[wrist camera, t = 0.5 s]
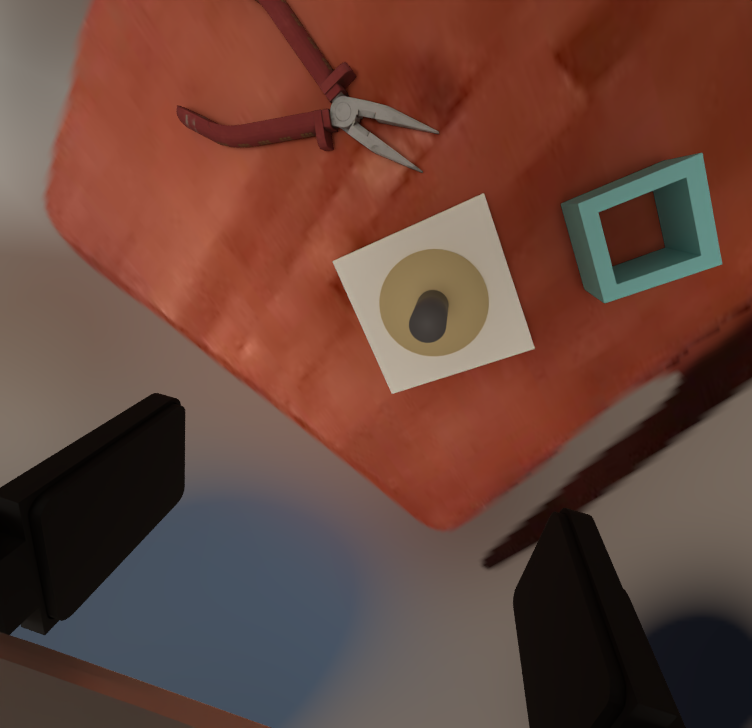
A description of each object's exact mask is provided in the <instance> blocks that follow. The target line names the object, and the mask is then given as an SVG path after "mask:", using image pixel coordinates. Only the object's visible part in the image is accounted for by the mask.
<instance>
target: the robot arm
mask: <svg viewBox="0 0 752 728" xmlns="http://www.w3.org/2000/svg"><path fill="white" fill-rule="evenodd" d="M184 483H185V409H184V407H183V406H181V404H180V401H179V400H178V399H177V398H173V397H169V396H166V395H162V394H159V393H154V394H151V395H150V396H148V397H146V398H145V399H143V400H141V401H140V402H138V403H137V404H135V405H133V406H132V407H130V408H129V409H127V410H125V411H124V412H122V413H120V414H119V415H117V416H116V417H114V418H112V419H111V420H109V421H107V422H106V423H104V424H103V425H101V426H99V427H98V428H96V429H95V430H93V431H92V432H90V433H88V434H86V435H85V436H83V437H82V438H80V439H78V440H77V441H75V442H73V443H72V444H70V445H69V446H67V447H65V448H64V449H62V450H60V451H59V452H58V453H56V454H54V455H52V456H51V457H49V458H47V459H46V460H44V461H43V462H41V463H39V464H38V465H36V466H34V467H33V468H31V469H30V470H28V471H26V472H25V473H23V474H22V475H20V476H18V477H17V478H15V479H14V480H12V481H10V482H9V483H7V484H5V485H4V486H2V487H1V488H0V728H271V727H268V726H265V725H262V724H259V723H257V722H254V721H251V720H248V719H246V718H243V717H240V716H237V715H234V714H231V713H229V712H226V711H223V710H220V709H218V708H215V707H212V706H209V705H207V704H204V703H201V702H198V701H196V700H193V699H190V698H187V697H184V696H182V695H179V694H176V693H173V692H170V691H167V690H165V689H162V688H159V687H157V686H154V685H151V684H148V683H145V682H142V681H140V680H137V679H134V678H131V677H128V676H125V675H123V674H120V673H117V672H114V671H111V670H108V669H106V668H103V667H100V666H97V665H94V664H92V663H89V662H86V661H83V660H80V659H77V658H75V657H72V656H69V655H66V654H63V653H60V652H57V651H55V650H52V649H49V648H46V647H44V646H40V645H38V644H35V643H32V642H28V641H25V640H22V639H19V638H16V637H13V636H10V634H11V633H12V632H13V631H14V630H15V629H16V628H17V627H18V626H19V625H20V624H21V627H23V628H26V629H29V630H31V631H34V632H37V633H40V634H43V635H46V634H47V633H48V631H49V630H50V629H51V628H52V627H53V626H54V625H55V624H56V623H57V622H58V621H59V620H61V621H62V620H66V619H67V618H69V617H70V616H71V615H72V614H73V613H74V612H75V611H76V610H77V609H78V608H79V607H80V606H81V605H82V604H83V603H84V602H85V601H86V600H87V599H88V597H89V596H90V595H91V594H92V593H93V592H94V591H95V590H96V589H97V588H98V587H99V586H100V585H101V584H102V583H103V582H104V580H105V579H106V578H107V577H108V576H109V575H110V574H111V573H112V572H113V571H114V570H115V569H116V568H117V567H118V566H119V565H120V563H121V562H122V561H123V560H124V559H125V558H126V557H127V556H128V555H129V554H130V553H131V552H132V551H133V550H134V549H135V548H136V547H137V545H138V544H139V543H140V542H141V541H142V540H143V539H144V538H145V537H146V536H147V535H148V534H149V532H151V531H152V529H154V527H155V526H156V525H157V524H158V523H159V522H160V521H161V520H162V519H163V518H164V517H165V516H166V515H167V514H168V513H169V511H170V510H171V509H172V508H173V507H174V506H175V505H176V504H177V503H178V502H179V500H180V499H181V497H182V495H183V492H184V487H185V484H184ZM513 608H514V616H515V623H516V630H517V638H518V645H519V653H520V660H521V667H522V675H523V682H524V690H525V697H526V704H527V712H528V719H529V726H530V728H686V727H685V725H684V723H683V721H682V718H681V716H680V713H679V711H678V709H677V707H676V704H675V702H674V700H673V698H672V695H671V693H670V690H669V688H668V686H667V683H666V681H665V679H664V677H663V674H662V672H661V670H660V667H659V665H658V663H657V660H656V658H655V656H654V653H653V651H652V649H651V646H650V644H649V642H648V640H647V637H646V635H645V633H644V630H643V628H642V626H641V623H640V621H639V619H638V617H637V614H636V612H635V610H634V607H633V605H632V603H631V600H630V598H629V596H628V594H627V593H626V591H625V590H624V589H623V588H622V585H621V583H620V581H619V578H618V576H617V573H616V571H615V569H614V566H613V564H612V562H611V559H610V557H609V555H608V552H607V550H606V548H605V545H604V543H603V541H602V538H601V536H600V534H599V531H598V529H597V527H596V524H595V522H594V520H593V518H592V516H590V515H588V514H585V513H581V512H578V511H574V510H571V509H567V508H563V509H562V510H561V511H560V512H559V513H558V512H553V513H552V514H551V516H550V518H549V520H548V522H547V524H546V526H545V528H544V530H543V533H542V535H541V537H540V539H539V541H538V543H537V545H536V547H535V549H534V551H533V553H532V555H531V558H530V560H529V562H528V564H527V566H526V568H525V570H524V572H523V574H522V576H521V578H520V580H519V583H518V585H517V587H516V589H515V592H514V597H513Z"/></svg>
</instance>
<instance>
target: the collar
mask: <svg viewBox="0 0 752 728" xmlns="http://www.w3.org/2000/svg"><path fill="white" fill-rule="evenodd" d="M651 191H653V193H654V198H655V202H656V207H657V212H658V216H659V221H660V225H661V230H662V235H663V239H664V244H665V248H663V249H660V250H657V251H654V252H652V253H649V254H646V255H643V256H640V257H638V258H635V259H632V260H629V261H626V262H624V263H621V264H618V265H615V266H612V264H611V260H610V256H609V252H608V249H607V245H606V241H605V237H604V233H603V229H602V225H601V221H600V217H599V213H598V212H601V211H603V210H606V209H608V208H611V207H613V206H616V205H618V204H621V203H623V202H626V201H628V200H631V199H633V198H636V197H638V196H641V195H643V194H646V193H648V192H651ZM561 208H562V211H563V215H564V218H565V222H566V226H567V229H568V233H569V236H570V240H571V243H572V247H573V251H574V254H575V258H576V261H577V265H578V269H579V272H580V276H581V279H582V283H583V286H584V289H585V290H586V291H587V292H589V293H590V294H592V295H593V296H595V297H596V298H597V299H599V300H600V301H602V302H603V303H607V302H610V301H613V300H616V299H619V298H622V297H625V296H628V295H631V294H634V293H637V292H640V291H643V290H646V289H649V288H652V287H655V286H658V285H661V284H664V283H667V282H670V281H673V280H676V279H679V278H682V277H685V276H688V275H691V274H694V273H697V272H700V271H703V270H706V269H709V268H712V267H715V266H718V265H721V264H722V260H721V255H720V249H719V244H718V238H717V232H716V227H715V221H714V216H713V210H712V204H711V199H710V193H709V187H708V182H707V176H706V171H705V165H704V159H703V154H702V153H698V154H693V155H689V156H684V157H679V158H674V159H669V160H664V161H662V162H659V163H657V164H654V165H652V166H650V167H647V168H645V169H642V170H640V171H638V172H635V173H633V174H630V175H628V176H626V177H623V178H621V179H618V180H616V181H614V182H611V183H609V184H606V185H604V186H602V187H599V188H597V189H594V190H592V191H590V192H587V193H585V194H582V195H580V196H578V197H575V198H573V199H570V200H568V201H566V202H563V203H561Z"/></svg>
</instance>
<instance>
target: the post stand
mask: <svg viewBox="0 0 752 728" xmlns="http://www.w3.org/2000/svg"><path fill="white" fill-rule="evenodd" d="M332 262H333V264H334V266H335V268H336V270H337V273H338V275H339V277H340V279H341V282H342V284H343V286H344V288H345V290H346V293H347V295H348V297H349V299H350V302H351V304H352V306H353V308H354V310H355V313H356V315H357V317H358V319H359V322H360V324H361V326H362V328H363V330H364V333H365V335H366V337H367V339H368V342H369V344H370V346H371V348H372V351H373V353H374V355H375V357H376V359H377V362H378V364H379V366H380V368H381V371H382V373H383V375H384V377H385V379H386V382H387V384H388V386H389V388H390V391H391V393H392V394H393V393H397V392H400V391H403V390H406V389H409V388H412V387H416V386H419V385H422V384H425V383H428V382H431V381H434V380H438V379H441V378H444V377H447V376H450V375H453V374H457V373H460V372H463V371H466V370H469V369H472V368H476V367H479V366H482V365H485V364H488V363H491V362H494V361H498V360H501V359H504V358H507V357H510V356H513V355H517V354H520V353H523V352H526V351H529V350H532V349H535V347H534V344H533V341H532V338H531V335H530V332H529V329H528V326H527V323H526V320H525V317H524V314H523V311H522V308H521V305H520V302H519V299H518V296H517V293H516V289H515V286H514V283H513V280H512V277H511V274H510V271H509V268H508V265H507V262H506V259H505V256H504V253H503V250H502V247H501V244H500V241H499V238H498V235H497V232H496V229H495V225H494V222H493V219H492V216H491V213H490V210H489V207H488V204H487V201H486V198H485V195H484V193H483V194H481V195H479V196H476V197H474V198H472V199H470V200H468V201H465V202H463V203H461V204H459V205H456V206H454V207H452V208H450V209H448V210H445V211H443V212H441V213H439V214H436V215H434V216H432V217H430V218H428V219H425V220H423V221H421V222H419V223H416V224H414V225H412V226H410V227H408V228H405V229H403V230H401V231H399V232H396V233H394V234H392V235H390V236H388V237H385V238H383V239H381V240H379V241H376V242H374V243H372V244H370V245H368V246H365V247H363V248H361V249H359V250H356V251H354V252H352V253H350V254H348V255H345V256H343V257H341V258H339V259H336V260H334V261H332Z"/></svg>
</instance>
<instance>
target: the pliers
mask: <svg viewBox="0 0 752 728" xmlns="http://www.w3.org/2000/svg"><path fill="white" fill-rule="evenodd" d="M256 1H257V2H258V3H260V4H261V5H262V6H263V7H264V9H265V10H266V11H267V13H268V14H269V15H270V17H271V18H272V20H273V21H274V23H275V24H276V25H277V27H278V28H279V30H280V31H281V33H282V34H283V35H284V37H285V38H286V40H287V41H288V43H289V44H290V45H291V47H292V48H293V50H294V51H295V53H296V54H297V55H298V57H299V58H300V60H301V61H302V63H303V64H304V65H305V67H306V68H307V70H308V71H309V73H310V74H311V75H312V77H313V78H314V80H315V81H316V83H317V84H318V85H319V87H320V89H321V90H322V91H323V93H324V94H325V95H326V97H327V98H328V100H329V101H330V102H331V103H332V105H331V109H330V110H329V109H324V110H316V111H313V112H308V113H302V114H297V115H292V116H286V117H281V118H275V119H270V120H265V121H259V122H254V123H249V124H243V125H235V126H226V125H220V124H218V123H216V122H214V121H212V120H210V119H208V118H206V117H204V116H202V115H200V114H198V113H195V112H193V111H191V110H189V109H187V108H184V107H181V106H178V105H177V116H178V118H179V119H180V121H181V122H182V123H183V124H184V125H185V126H186V127H188V128H189V129H191V130H193V131H195V132H197V133H199V134H201V135H203V136H205V137H207V138H209V139H211V140H213V141H215V142H217V143H218V144H221V145H225V146H229V147H253V146H259V145H265V144H271V143H277V142H283V141H288V140H294V139H300V138H306V137H312V136H316V137H317V142H318V145H319V147H320V149H322V150H324V151H330V150H334V147H333V139H332V133H333V132H338V128H341V129H343V130H344V131H345V132H347V133H348V134H349V135H351V136H352V137H353V138H355V139H356V140H357V141H359V142H360V143H361V144H363V145H364V146H366V147H367V148H368V149H370V150H371V151H373V152H374V153H375V154H378V155H380V156H383V157H385V158H387V159H390V160H392V161H395V162H397V163H399V164H402V165H404V166H407V167H409V168H411V169H414V170H416V171H419V172H421V173H422V172H423V171H422V170H420V169H419V168H418V167H416V166H415V165H414V164H412V163H411V162H410V161H408V160H407V159H406V158H404V157H403V156H402V155H400V154H399V153H397V152H396V151H395V150H393V149H392V148H391V147H389V146H388V145H387V144H385V143H384V142H383V141H381V140H380V139H379V138H377V137H376V136H375V135H373V134H372V133H371V132H369V131H367V130H366V129H365V128H364V127H362V126H361V125H360V124H359V123H360V119H363V116H364V117H369V118H374V119H376V120H377V121H378V122H379V123H384V124H389V125H394V126H399V127H404V128H409V129H415V130H420V131H425V132H430V133H436V134H439V131H437V130H435V129H433V128H431V127H429V126H427V125H425V124H423V123H421V122H419V121H417V120H415V119H413V118H411V117H409V116H407V115H405V114H403V113H401V112H399V111H397V110H395V109H393V108H391V107H389V106H386V105H382V104H378V103H374V102H370V101H366V100H361V99H356V98H351V97H348V96H349V95H348V93H347V92H346V90H345V88H346V87H347V86H348V85H349V84H350V83H351V82H352V81H353V80H354V79H355V78H356V75H355V74H354V72H353V71H352V69H351V68H350V66H349V65H348V64H347V63H346V62H344V63H342V64H340V65H339V66H338V67H337V68H336V69H335V70H334V71H333V69H332V68H331V66H330V65H329V63H328V62H327V61H326V59H325V58H324V56H323V55H322V53H321V52H320V50H319V49H318V47H317V46H316V45H315V43H314V42H313V40H312V39H311V37H310V36H309V34H308V33H307V31H306V30H305V29H304V27H303V26H302V24H301V23H300V21H299V20H298V18H297V17H296V15H295V14H294V13H293V11H292V10H291V8H290V7H289V5H288V4H287V2H286V1H285V0H256Z"/></svg>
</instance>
